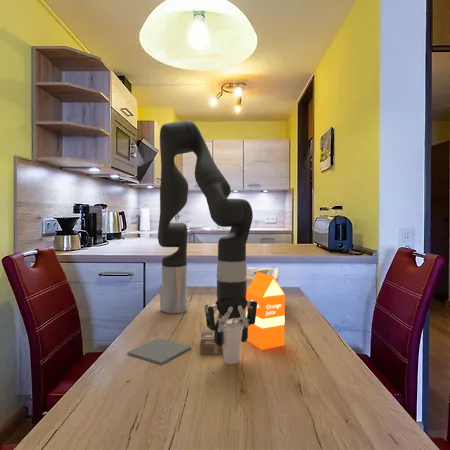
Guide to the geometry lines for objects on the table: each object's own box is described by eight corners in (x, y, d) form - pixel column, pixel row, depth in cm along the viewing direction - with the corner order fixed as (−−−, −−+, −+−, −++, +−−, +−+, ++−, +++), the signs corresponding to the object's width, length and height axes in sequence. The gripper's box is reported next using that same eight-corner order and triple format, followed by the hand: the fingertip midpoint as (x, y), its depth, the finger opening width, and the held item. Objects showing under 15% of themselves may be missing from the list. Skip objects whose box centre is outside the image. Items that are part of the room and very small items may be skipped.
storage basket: (240, 300, 153) (240, 265, 153) (279, 302, 150) (279, 267, 150) (231, 317, 130) (231, 276, 129) (276, 320, 127) (277, 278, 126)
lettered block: (200, 343, 105) (200, 328, 105) (228, 342, 106) (228, 328, 105) (200, 354, 97) (200, 338, 97) (230, 353, 97) (230, 338, 97)
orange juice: (261, 350, 100) (262, 277, 99) (245, 339, 108) (245, 272, 107) (284, 345, 103) (285, 275, 102) (267, 335, 111) (268, 270, 110)
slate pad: (127, 354, 96) (127, 351, 96) (158, 340, 107) (158, 338, 107) (161, 364, 90) (161, 362, 90) (191, 348, 100) (191, 346, 100)
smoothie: (241, 367, 89) (242, 311, 88) (216, 365, 90) (216, 309, 89) (245, 357, 95) (245, 304, 94) (221, 355, 96) (221, 302, 96)
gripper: (211, 283, 85) (211, 353, 86) (264, 278, 91) (263, 343, 92) (199, 277, 92) (199, 342, 92) (249, 273, 98) (248, 334, 99)
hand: (231, 343), depth 92 cm, fingers closed on smoothie, 6 cm apart
